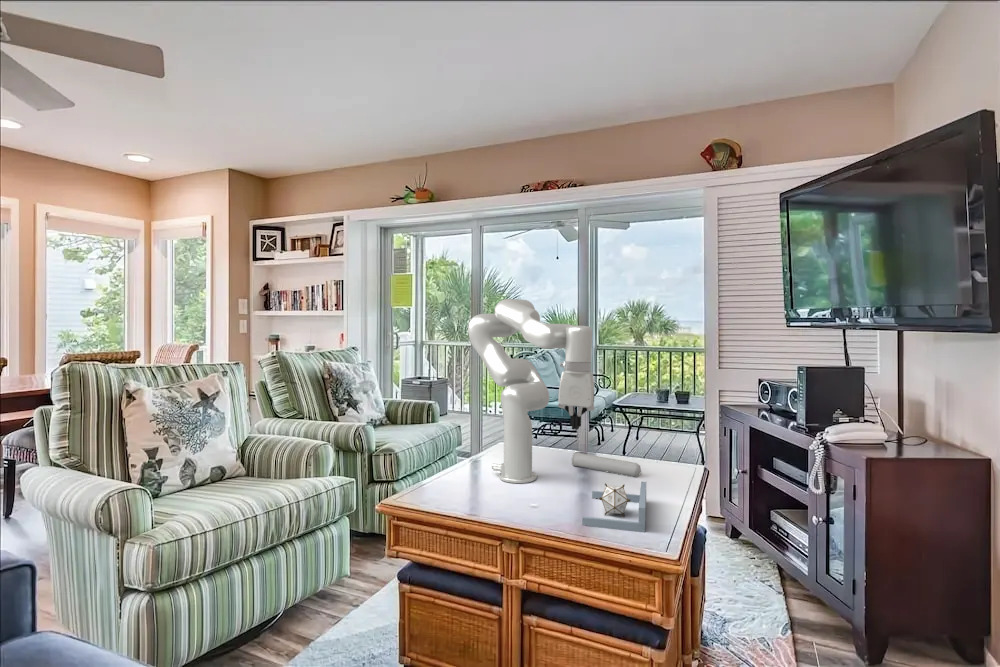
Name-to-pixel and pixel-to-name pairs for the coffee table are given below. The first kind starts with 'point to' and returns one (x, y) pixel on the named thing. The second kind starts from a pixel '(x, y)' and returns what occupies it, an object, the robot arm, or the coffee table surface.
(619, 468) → the tube
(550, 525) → the coffee table surface
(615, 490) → the game die
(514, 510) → the coffee table surface
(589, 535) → the coffee table surface
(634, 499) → the tray
